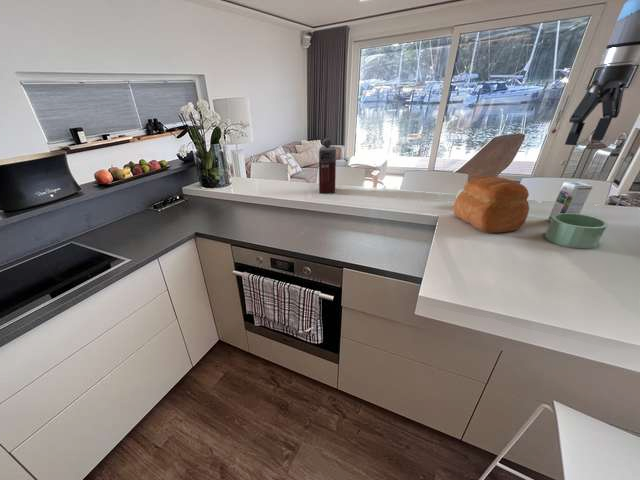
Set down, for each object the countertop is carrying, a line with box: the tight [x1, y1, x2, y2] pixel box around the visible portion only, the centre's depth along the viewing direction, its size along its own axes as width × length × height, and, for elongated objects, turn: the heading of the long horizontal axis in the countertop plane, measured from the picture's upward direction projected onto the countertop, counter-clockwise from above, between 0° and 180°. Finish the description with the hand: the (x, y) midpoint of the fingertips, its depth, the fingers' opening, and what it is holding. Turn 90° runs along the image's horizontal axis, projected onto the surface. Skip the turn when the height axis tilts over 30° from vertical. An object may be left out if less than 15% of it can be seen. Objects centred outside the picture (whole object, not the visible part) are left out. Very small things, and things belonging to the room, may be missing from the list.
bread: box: [453, 175, 530, 234], centre depth 107 cm, size 18×21×17 cm
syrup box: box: [547, 181, 594, 222], centre depth 103 cm, size 6×6×14 cm
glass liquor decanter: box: [318, 138, 337, 195], centre depth 156 cm, size 9×11×28 cm
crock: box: [544, 213, 609, 250], centre depth 93 cm, size 13×13×7 cm
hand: (583, 142), depth 95 cm, fingers open, 13 cm apart
